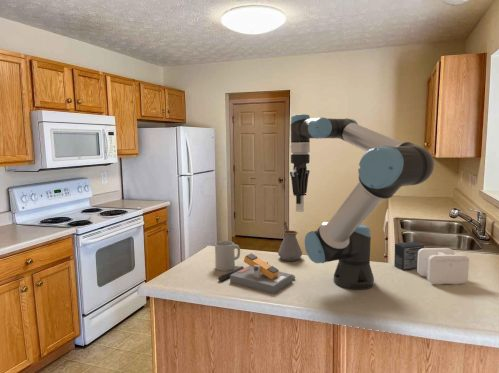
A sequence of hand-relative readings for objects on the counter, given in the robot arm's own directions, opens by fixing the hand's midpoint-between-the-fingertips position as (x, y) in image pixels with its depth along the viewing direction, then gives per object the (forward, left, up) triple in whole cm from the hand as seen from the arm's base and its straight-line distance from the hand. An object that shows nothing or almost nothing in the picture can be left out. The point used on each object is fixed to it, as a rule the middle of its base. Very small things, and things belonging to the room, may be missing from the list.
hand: (299, 211), depth 149 cm
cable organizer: (-50, -24, -27) cm, 62 cm away
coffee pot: (+16, -19, -27) cm, 36 cm away
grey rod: (+7, +8, -26) cm, 28 cm away
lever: (+8, +17, -21) cm, 28 cm away
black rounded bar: (+22, +18, -26) cm, 39 cm away
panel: (+8, +17, -26) cm, 32 cm away
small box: (-36, -33, -27) cm, 56 cm away
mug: (+30, +10, -27) cm, 41 cm away
